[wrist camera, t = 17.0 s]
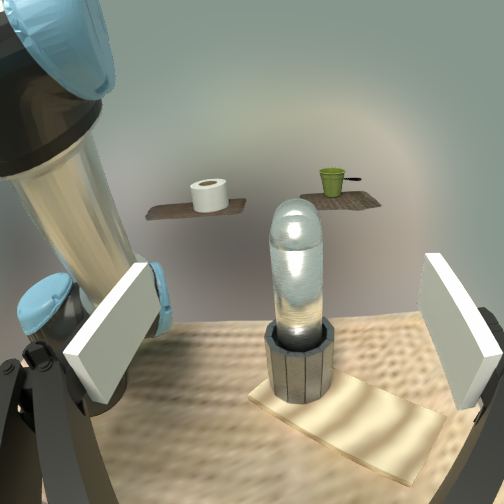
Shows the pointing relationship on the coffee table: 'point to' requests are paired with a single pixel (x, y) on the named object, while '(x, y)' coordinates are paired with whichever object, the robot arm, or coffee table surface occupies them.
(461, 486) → the robot arm
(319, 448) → the coffee table surface
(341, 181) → the plant pot
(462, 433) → the coffee table surface
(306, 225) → the polished capsule rod
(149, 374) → the coffee table surface
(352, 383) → the birch board
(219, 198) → the toilet paper roll
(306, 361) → the grey wooden bucket
